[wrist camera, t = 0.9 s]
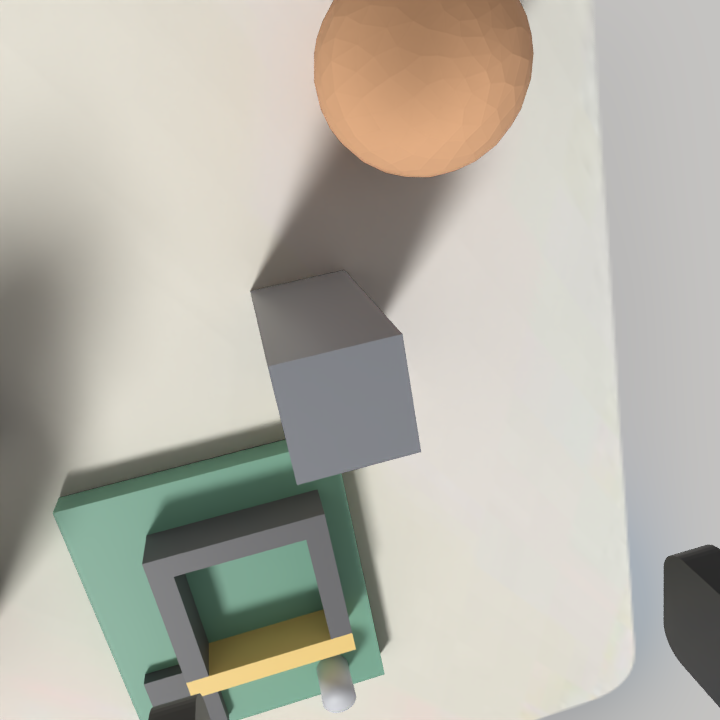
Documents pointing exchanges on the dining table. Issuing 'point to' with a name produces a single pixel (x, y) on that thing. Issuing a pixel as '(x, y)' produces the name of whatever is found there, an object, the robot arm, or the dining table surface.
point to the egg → (422, 79)
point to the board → (226, 584)
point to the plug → (336, 376)
